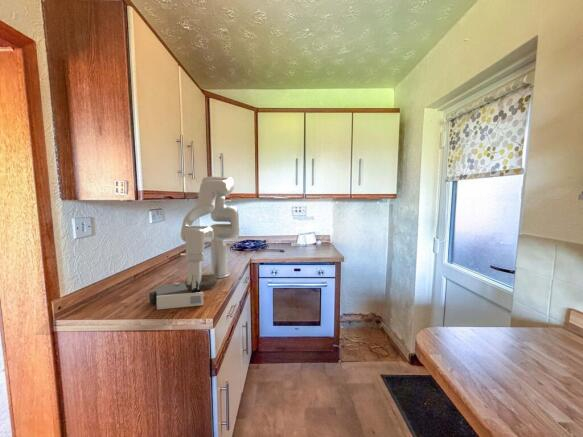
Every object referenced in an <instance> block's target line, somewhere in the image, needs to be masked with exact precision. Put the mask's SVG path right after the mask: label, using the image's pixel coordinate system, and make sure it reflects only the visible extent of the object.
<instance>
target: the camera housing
mask: <svg viewBox="0 0 583 437" xmlns="http://www.w3.org/2000/svg"><path fill="white" fill-rule="evenodd" d="M184 283H185V282H184V281H181V282H174V283H170V284H163V285H158V286H154V291H150V292H149V293H148V299H149V300H148V301H149V303H150V304H151V303H155V304H156V306H157V296H160V295H172V294H184V293H189V291H188V289H187V287H186V286H185V284H184Z"/></svg>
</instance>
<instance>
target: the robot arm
mask: <svg viewBox="0 0 583 437" xmlns="http://www.w3.org/2000/svg"><path fill="white" fill-rule="evenodd" d="M234 188H235V182H234V179H233V178H232V177H230V176H205V177H203V178H202V180H201V183H200V187H199V191H198V197H197V200H196V205H195V206H194V207H193V208H192V209H191V210H190V211H188V212H187V213H186V215H185V216H184V218H183V220H182V224H181V230H180V238H181V240H182V241H183V242H185V261H186V262H187V263H188V264H187V282H188V285H190V284H191V282H192V291H191V293H195V292H201V290H200V282H201V279H202V275H203V261H205V259H206V257H205V243H209V242H210V271H211V272H209V273H208V275H210V274H212V275H214V276H215V277H217V279H224V278H227V277H229V276H230V275H231V272H230V271H228V245H227V244H226V242H225V241H227V240H233V241H234V240H237V239H238V238H239V236H240V223H239V217H240V216H239V210H238V207H236V206H235V205H226V197H228V196H229V195H231V193H232V192H233V191H234ZM208 214H209V215H210V218H211V221H213V222H217V223H214V224H213V223H212V224H211V225H210V226H208V225H202V226H201V225H193V223H194V222H195V221H196V220H197V219H199V218H201V217H203V216H206V215H208ZM224 240H225V241H224Z"/></svg>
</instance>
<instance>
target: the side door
mask: <svg viewBox="0 0 583 437" xmlns="http://www.w3.org/2000/svg"><path fill="white" fill-rule="evenodd" d="M203 305H204V291H200V292H195V293H192V292H188V293H184V294H172V295H160V296H157V305H156V310H159V311H160V310H167V309H177V308H179V309H180V308H188V307H196V306H198V307H199V306H203Z"/></svg>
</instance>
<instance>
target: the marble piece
mask: <svg viewBox="0 0 583 437" xmlns="http://www.w3.org/2000/svg"><path fill="white" fill-rule="evenodd" d="M217 280H218V278H217V277H215V276H214V275H212V274H210V275H209V274H202V279H201V282H200V291H203V290H204V291H205V290H212V289H213V287H214V286H215V285H216V283H217ZM183 283H184V284H185V286H186V287H187V289H188V292H190V291H191V292H192V282H191V284H190V285H188V281H186V282H183Z"/></svg>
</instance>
